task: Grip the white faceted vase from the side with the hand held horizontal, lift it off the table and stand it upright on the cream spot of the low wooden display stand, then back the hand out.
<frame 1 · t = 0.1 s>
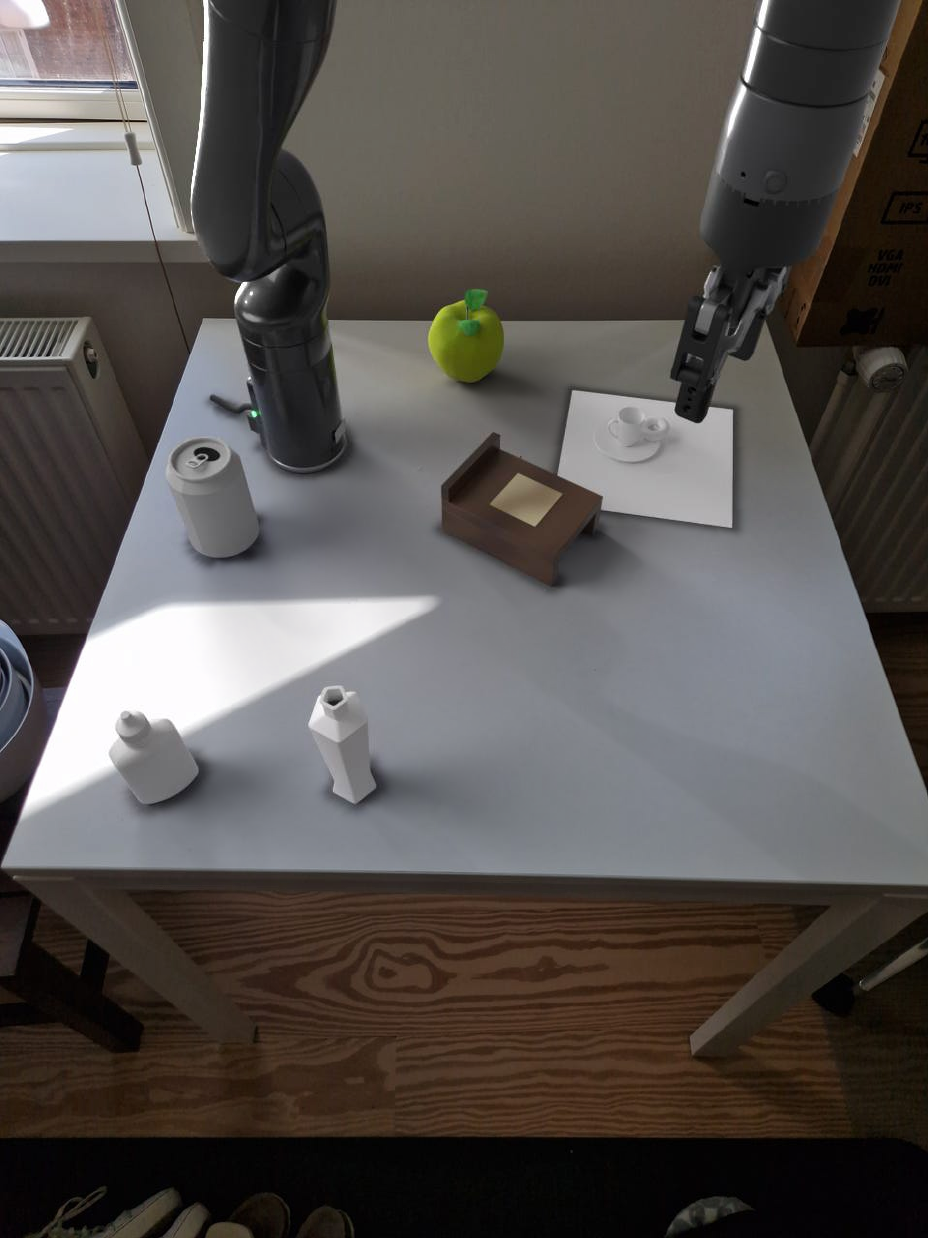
hand: (713, 385, 63), 29 cm above the table, tool pointing down, fingers open, 8 cm apart
wooden display stand: (519, 529, 94), on the table
white faceted vase: (356, 784, 76), on the table
teacup and saucer: (646, 455, 101), on the table
fruit: (466, 374, 110), on the table
eye dropper bottle: (168, 782, 77), on the table
can: (227, 538, 94), on the table
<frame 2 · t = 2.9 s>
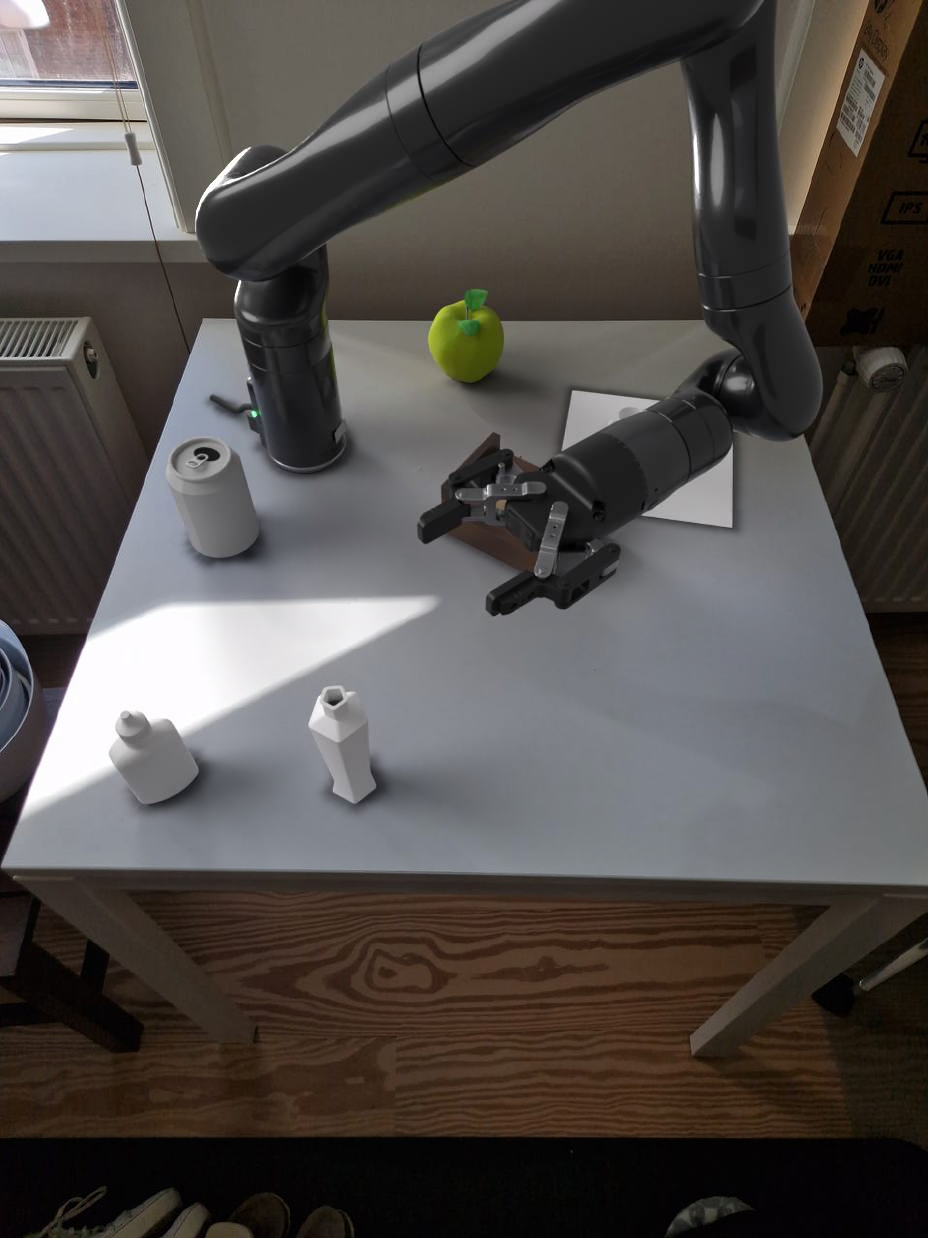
hand: (453, 569, 62), 22 cm above the table, tool horizontal, fingers open, 8 cm apart
nothing on the table moved.
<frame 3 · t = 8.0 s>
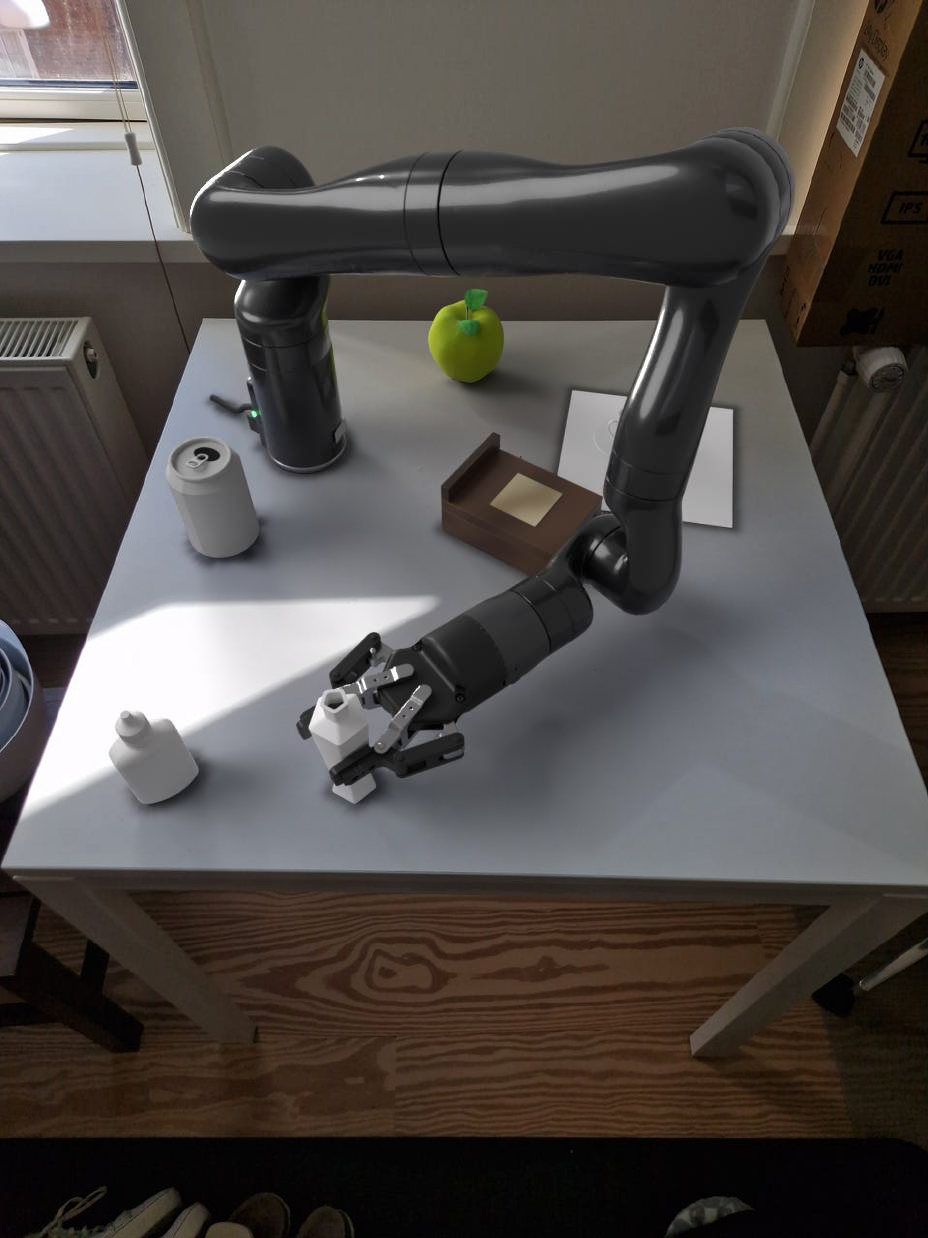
hand: (316, 754, 68), 9 cm above the table, tool horizontal, fingers closed on white faceted vase, 4 cm apart
white faceted vase: (356, 783, 76), on the table, touching gripper
everything else where it was.
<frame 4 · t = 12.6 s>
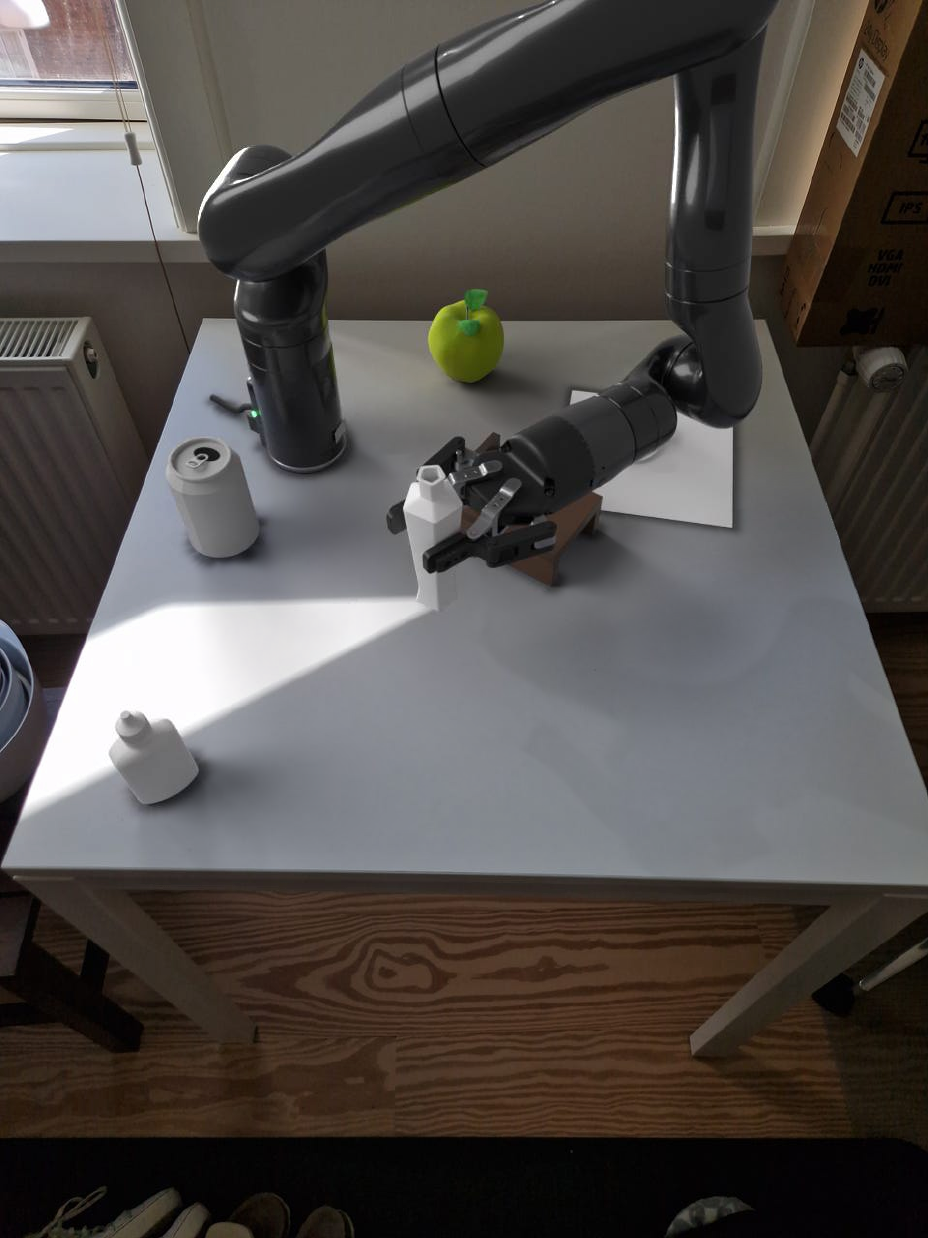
hand: (407, 544, 68), 19 cm above the table, tool horizontal, fingers closed on white faceted vase, 4 cm apart
white faceted vase: (439, 594, 76), point 10 cm above the table, touching gripper
everything else where it was.
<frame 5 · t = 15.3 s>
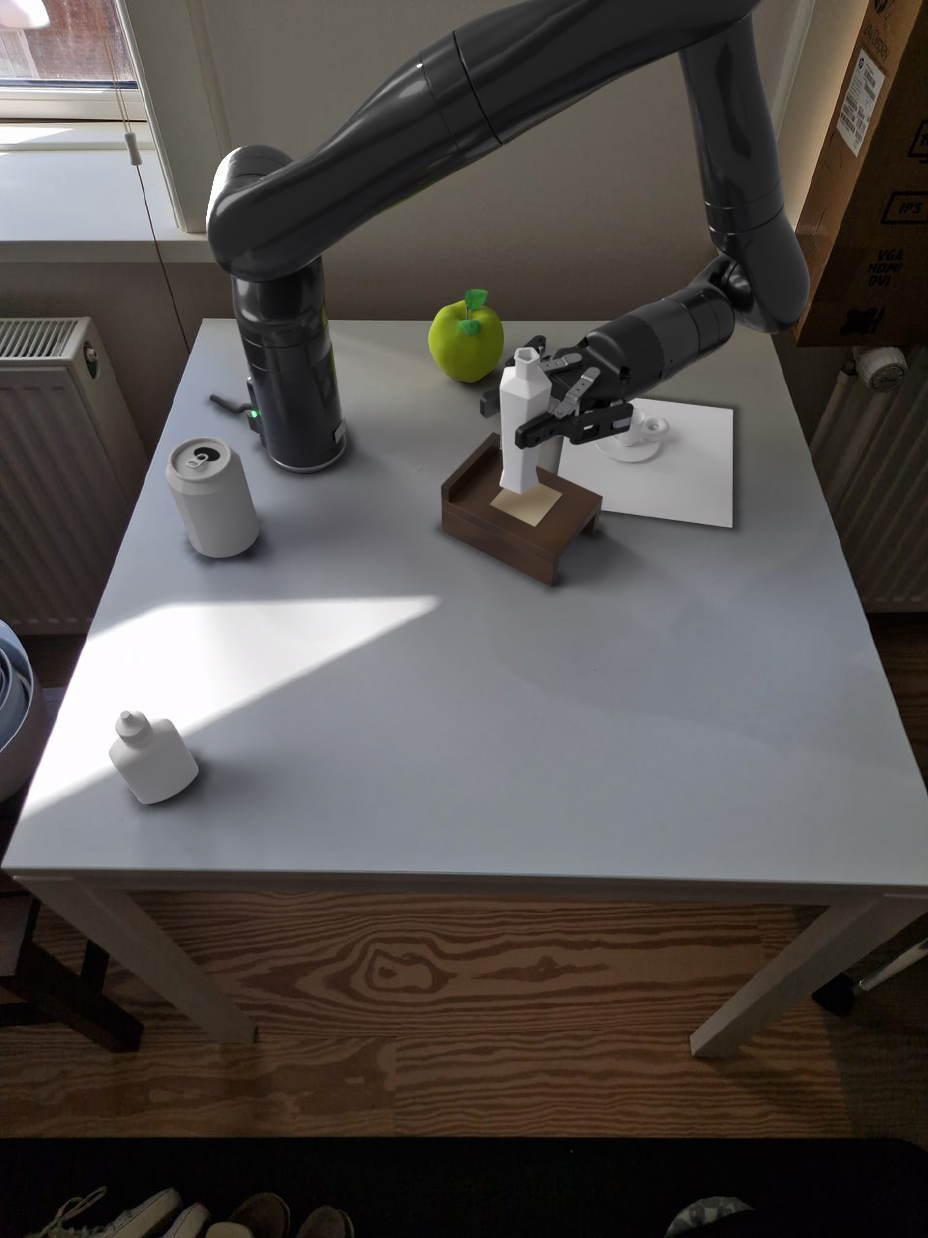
hand: (500, 423, 77), 19 cm above the table, tool horizontal, fingers closed on white faceted vase, 4 cm apart
white faceted vase: (520, 480, 85), point 10 cm above the table, touching gripper
everything else where it was.
when the fingers open (14 cm above the table, at t = 17.4 s): white faceted vase stays where it is, resting on wooden display stand.
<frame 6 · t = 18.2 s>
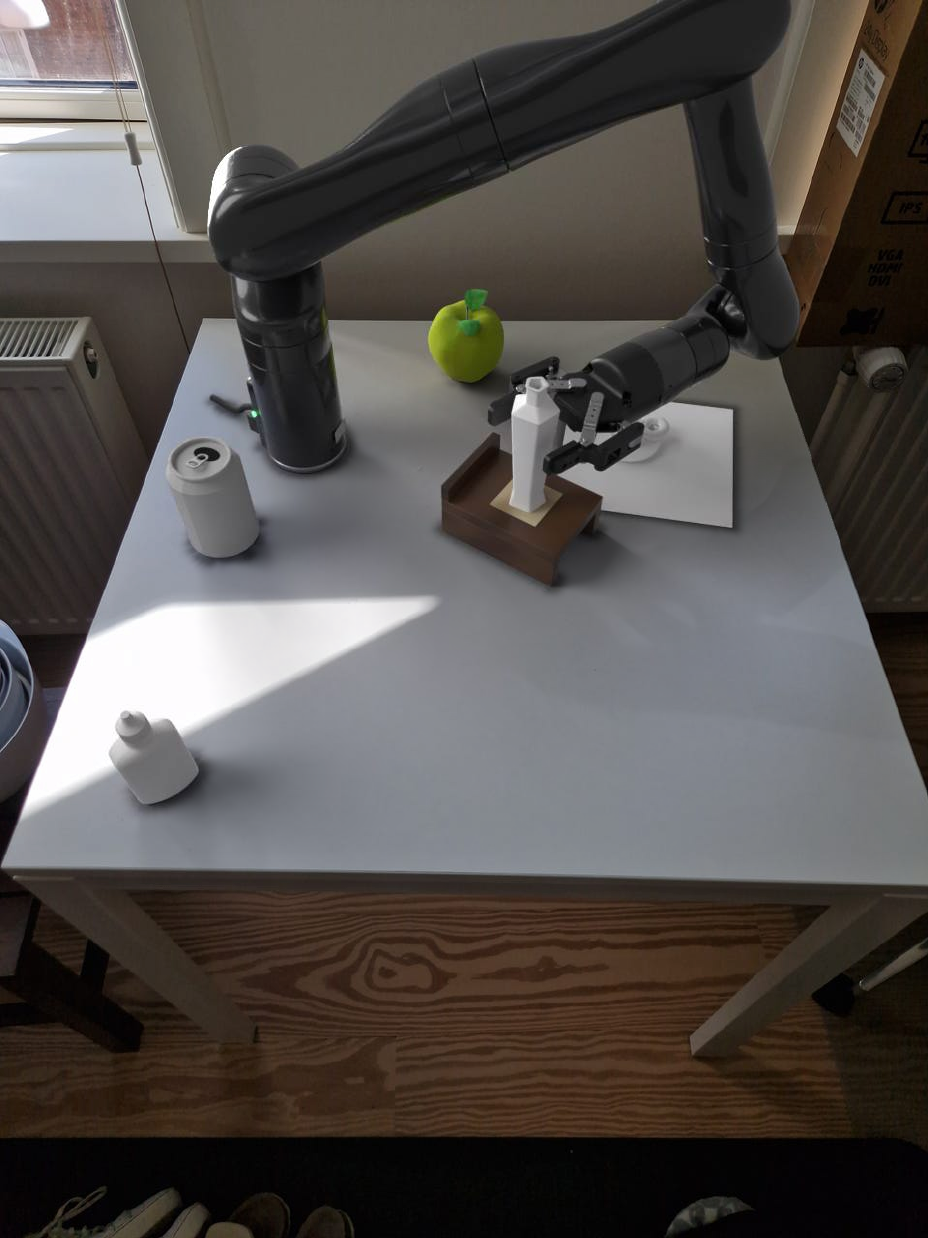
hand: (517, 441, 82), 14 cm above the table, tool horizontal, fingers open, 8 cm apart
white faceted vase: (528, 500, 90), point 5 cm above the table, touching wooden display stand
everything else where it was.
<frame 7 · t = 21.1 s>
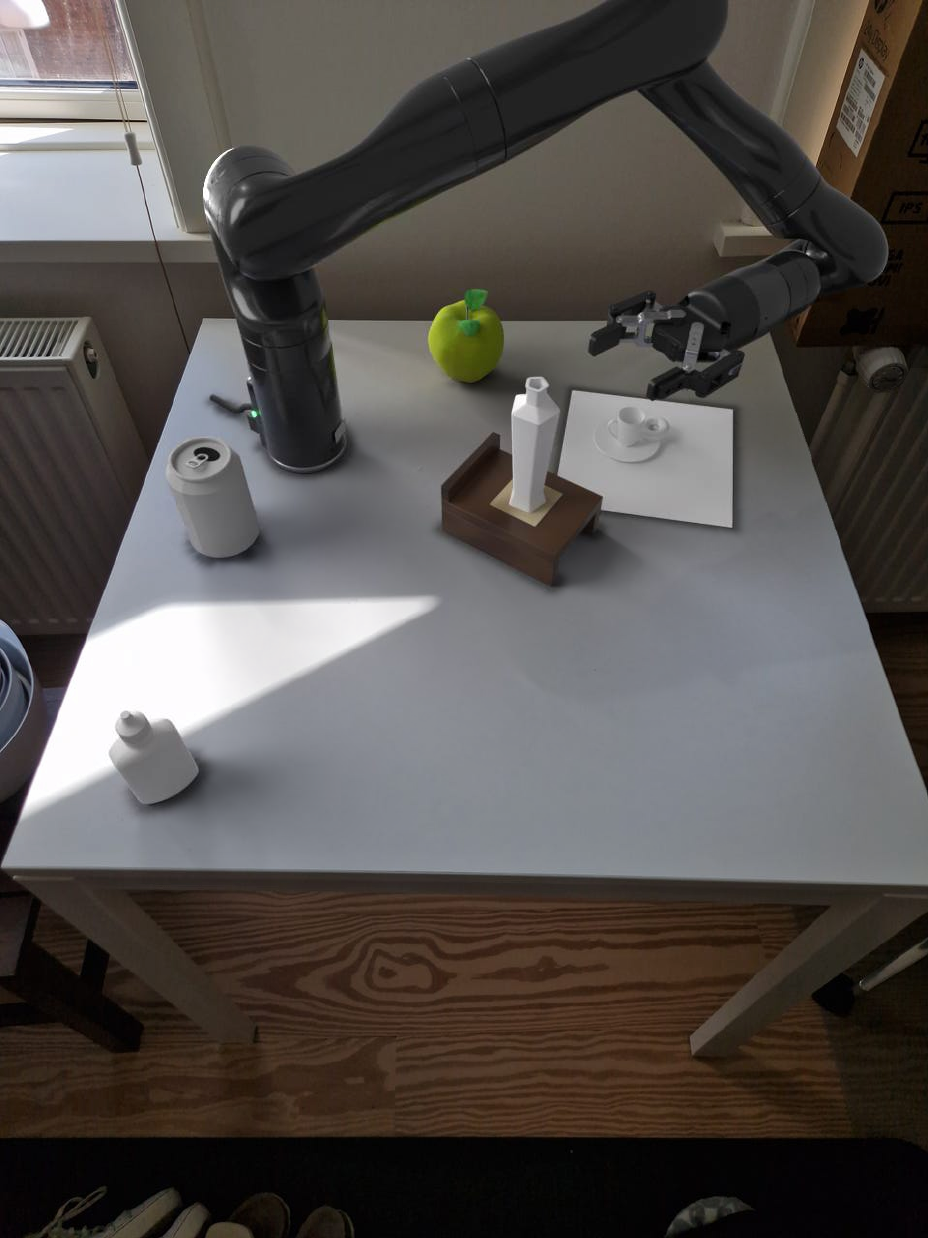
hand: (619, 368, 84), 17 cm above the table, tool horizontal, fingers open, 8 cm apart
nothing on the table moved.
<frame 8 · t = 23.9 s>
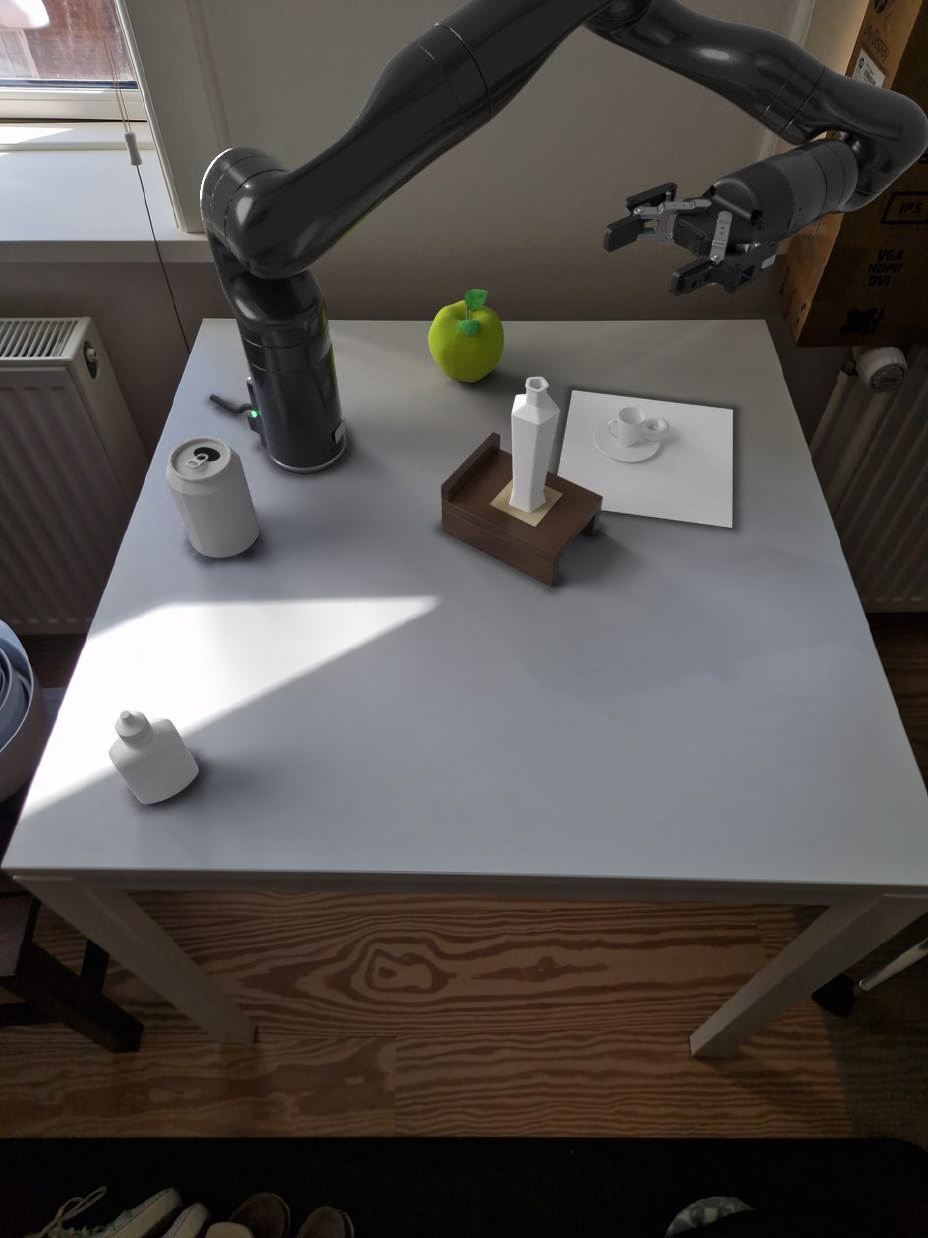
hand: (639, 262, 75), 28 cm above the table, tool horizontal, fingers open, 8 cm apart
nothing on the table moved.
at the end: white faceted vase inside the target area on the wooden display stand (0.2 cm from its centre), point 4.9 cm above the wooden display stand's base; white faceted vase tilted 0°; the gripper is holding nothing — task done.
